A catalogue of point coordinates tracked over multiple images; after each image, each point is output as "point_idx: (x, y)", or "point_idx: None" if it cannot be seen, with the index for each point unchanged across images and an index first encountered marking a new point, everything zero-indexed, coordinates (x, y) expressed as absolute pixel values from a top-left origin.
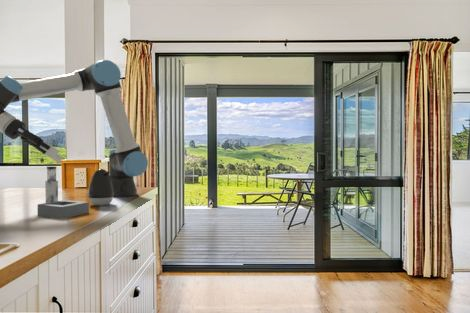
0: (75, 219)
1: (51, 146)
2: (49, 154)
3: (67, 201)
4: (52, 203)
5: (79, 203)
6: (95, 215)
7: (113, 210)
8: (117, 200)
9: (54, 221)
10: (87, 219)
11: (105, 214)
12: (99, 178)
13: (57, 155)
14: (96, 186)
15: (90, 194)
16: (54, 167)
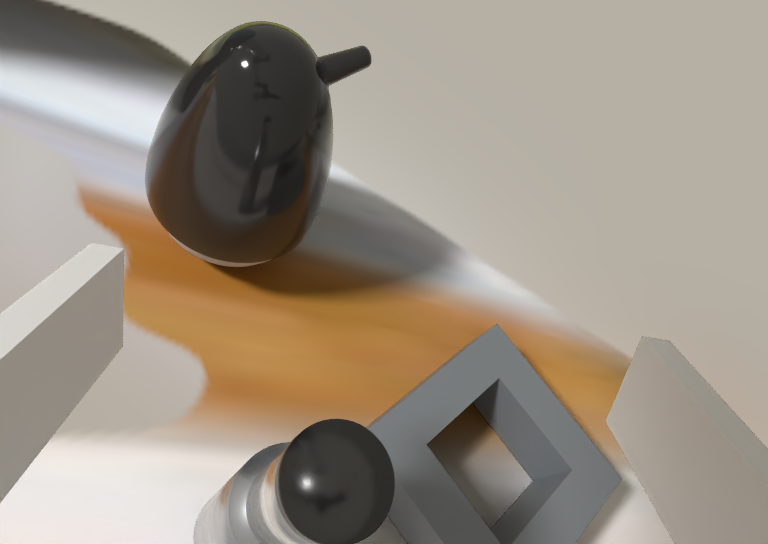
0: (604, 432)
1: (738, 432)
2: (1, 456)
3: (437, 427)
4: (488, 527)
5: (530, 376)
6: (535, 334)
7: (436, 231)
8: (90, 87)
9: (632, 530)
10: (611, 385)
11: (523, 292)
12: (329, 131)
13: (76, 311)
14: (319, 188)
15: (275, 247)
16: (381, 448)
